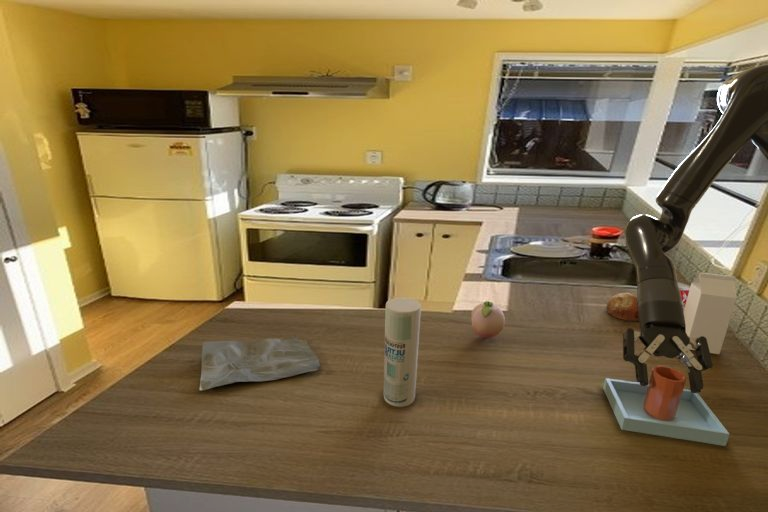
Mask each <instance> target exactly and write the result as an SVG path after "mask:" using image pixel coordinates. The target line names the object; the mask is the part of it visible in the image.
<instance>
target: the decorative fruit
mask: <svg viewBox="0 0 768 512" xmlns="http://www.w3.org/2000/svg"><path fill="white" fill-rule="evenodd" d="M470 313H471V314H470V320H471V326H472V329H473V331H474V332H475V334H477V336H479V337H481V338H482V339H490V338H491V339H492V338H493V337H496V336H497V335H499V334H500V333H502V331H503V330H504V328H505V325H506V318H505V314H504V312H503V309H501V308H500V307H499V306H497V305H495V304H494V303H493V302H492V301H488V300H487V301H484V302H483V303H479V304H477V305H476V306H475V307H473V308H472V311H471V312H470Z"/></svg>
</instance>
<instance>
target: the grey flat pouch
mask: <svg viewBox="0 0 768 512" xmlns="http://www.w3.org/2000/svg"><path fill="white" fill-rule="evenodd" d="M320 363H321V362H320V359H319V357H318V356H317V355H316V353H315V351H314V350H312V349H311V345H308V342H307V340H305V339H300V340H299V338H298V336H297V335H296V336H291V337H287V338H284V339H280V338H264V339H258V340H253V341H239V340H217V341H214V340H213V341H203V342H202V351H201V369H200V370H201V371H200V381H199V382H200V383H199V389H198V390H199V391H206V390H209V389H212V388H216V387H221V386H224V385H230V384H234V383H239V382H243V383H244V382H245V383H246V382H268V381H277V380H280V379H284V378H285V379H286V378H289V377H294V376H297V375H300V374H304V373H309V372H310V373H311V372H316V371H317V372H318V370H319V368H321V364H320Z"/></svg>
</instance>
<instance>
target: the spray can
mask: <svg viewBox="0 0 768 512" xmlns="http://www.w3.org/2000/svg"><path fill="white" fill-rule="evenodd" d="M384 311H385V312H384V314H385V316H384V357H383V359H384V360H383V399H384V401H385V402H386V403H387V404H388V405H391V406H393V407H397V408H402V407H408V406H409V405H411V404H413V403H414V401H415V398H416V391H417V390H416V388H417V387H416V386H417V375H418V374H417V373H418V361H419V359H418V357H419V343H420V329H421V328H420V327H421V315H422V305H421V303H420V301H418V300H416V299H413V298H409V297H395V298H391V299H388V300H387V301H386V303H385V310H384Z"/></svg>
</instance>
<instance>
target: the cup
mask: <svg viewBox="0 0 768 512" xmlns="http://www.w3.org/2000/svg"><path fill="white" fill-rule="evenodd" d="M686 381H687V377H686V375H685V374H684V373H683V372H682V371H680V370H679V369H677V368H674V367H671V366H667V365H654V366H653V367H652V369H651V373H650V378H649V380H648V384H649V385H648V389H647V393H646V397H645V400H644V404H643V409H644V411H645V412H646V413H647V414H649V415H650V416H652V417H654V418H656V419H659V420H662V421H672V420H674V419H675V416H676V413H677V409H678V406H679V402H680V399H681V395H682V392H683V389H685V386H686V385H685V384H686Z"/></svg>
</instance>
